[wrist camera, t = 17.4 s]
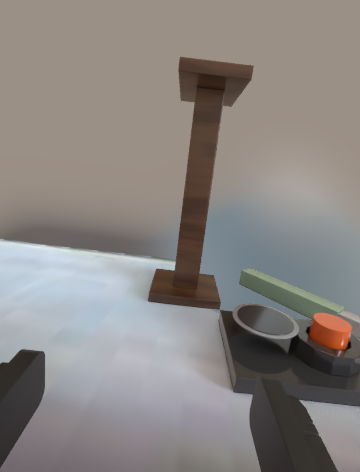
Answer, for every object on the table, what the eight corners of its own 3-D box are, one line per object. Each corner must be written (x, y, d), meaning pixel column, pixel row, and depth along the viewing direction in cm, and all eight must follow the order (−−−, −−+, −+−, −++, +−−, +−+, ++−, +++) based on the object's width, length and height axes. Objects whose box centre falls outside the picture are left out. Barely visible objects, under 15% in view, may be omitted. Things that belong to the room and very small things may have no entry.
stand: (221, 317, 37) (262, 66, 30) (146, 308, 37) (170, 55, 30) (211, 277, 51) (239, 98, 44) (156, 270, 51) (175, 90, 44)
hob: (233, 392, 25) (240, 357, 24) (218, 320, 37) (222, 295, 36) (391, 410, 25) (403, 376, 24) (325, 332, 37) (332, 308, 36)
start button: (317, 349, 27) (322, 329, 27) (302, 328, 31) (307, 310, 30) (354, 353, 27) (360, 333, 27) (335, 332, 31) (340, 314, 30)
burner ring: (238, 334, 27) (239, 332, 27) (228, 301, 34) (228, 300, 34) (310, 343, 27) (310, 341, 27) (285, 308, 34) (285, 306, 34)
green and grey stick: (397, 329, 34) (391, 335, 33) (391, 347, 35) (385, 354, 33) (250, 268, 50) (241, 270, 49) (248, 281, 51) (239, 283, 49)
